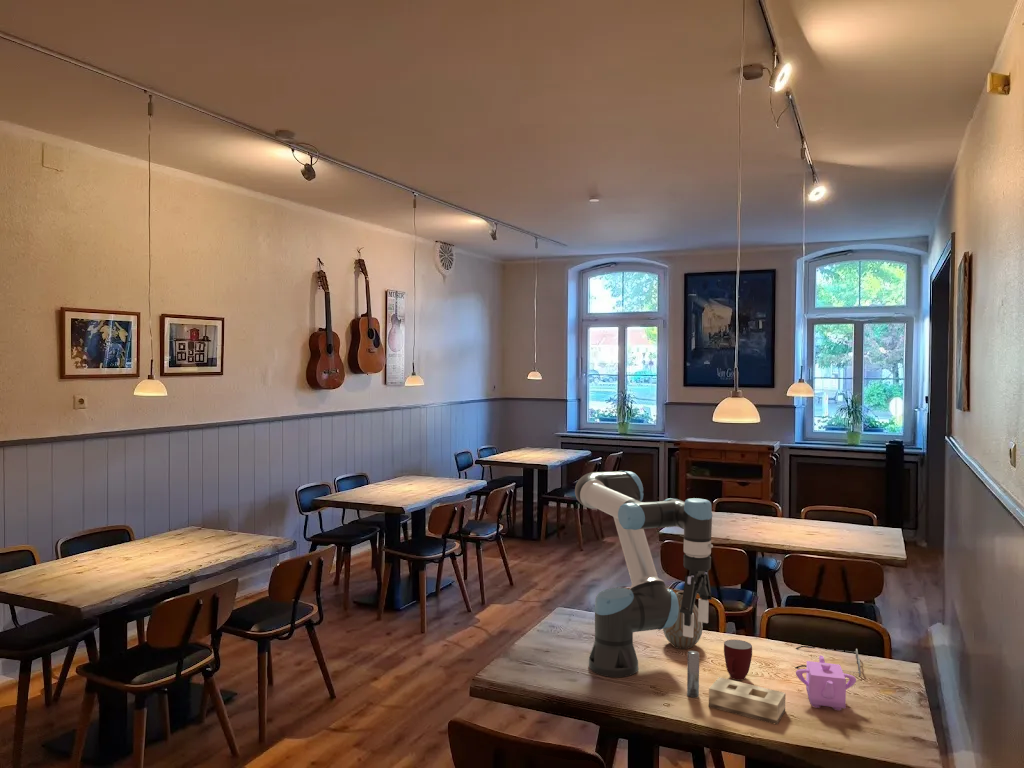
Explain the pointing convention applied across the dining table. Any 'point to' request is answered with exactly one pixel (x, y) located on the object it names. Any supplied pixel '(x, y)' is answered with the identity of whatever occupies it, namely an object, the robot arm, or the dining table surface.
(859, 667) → the eyeglasses
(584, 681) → the dining table surface
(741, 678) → the mug
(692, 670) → the pin
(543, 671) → the dining table surface
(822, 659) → the teapot
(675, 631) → the vase
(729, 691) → the block
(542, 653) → the dining table surface
